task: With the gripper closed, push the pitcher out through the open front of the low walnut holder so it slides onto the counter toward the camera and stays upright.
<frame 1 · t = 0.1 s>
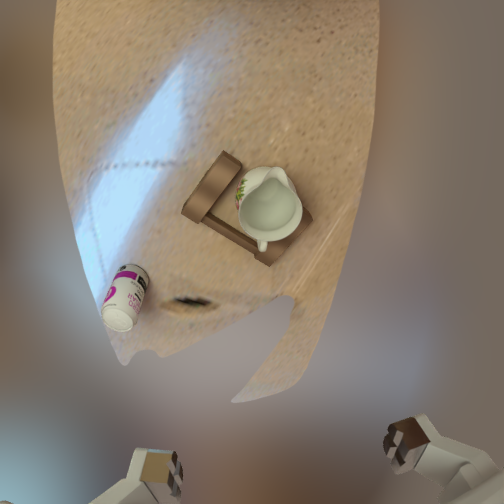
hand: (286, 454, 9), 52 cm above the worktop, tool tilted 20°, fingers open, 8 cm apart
pitcher: (261, 189, 58), on the worktop
supplement can: (133, 276, 68), on the worktop
holder: (246, 208, 60), on the worktop
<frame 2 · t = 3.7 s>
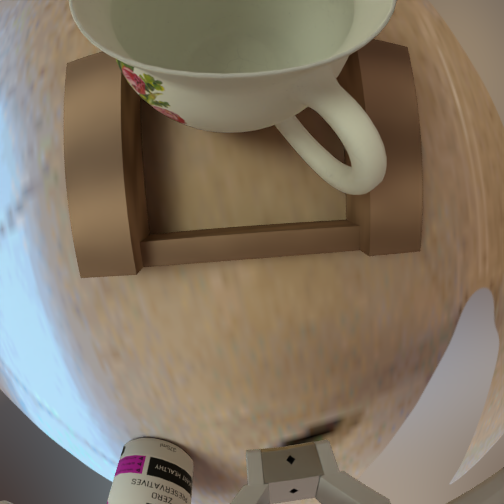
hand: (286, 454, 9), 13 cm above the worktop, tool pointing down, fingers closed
pitcher: (240, 81, 18), on the worktop
supplement can: (158, 453, 26), on the worktop
holder: (244, 149, 19), on the worktop
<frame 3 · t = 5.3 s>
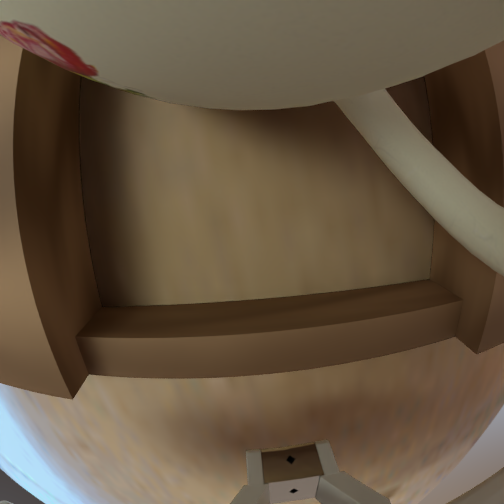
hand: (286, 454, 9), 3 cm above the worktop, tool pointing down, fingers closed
pitcher: (257, 32, 9), on the worktop
holder: (267, 155, 10), on the worktop
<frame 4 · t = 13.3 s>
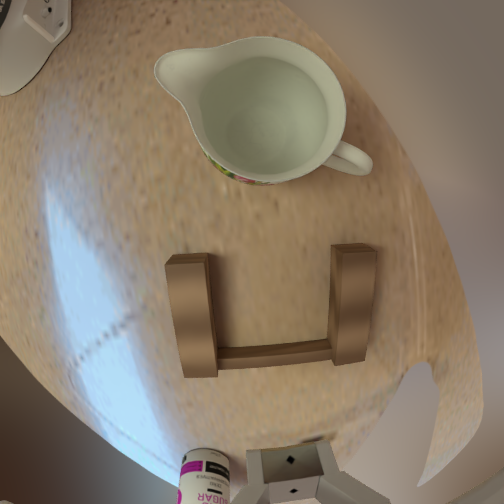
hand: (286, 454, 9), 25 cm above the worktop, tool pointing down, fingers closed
pitcher: (264, 137, 30), on the worktop
supplement can: (206, 458, 42), on the worktop
holder: (272, 307, 35), on the worktop
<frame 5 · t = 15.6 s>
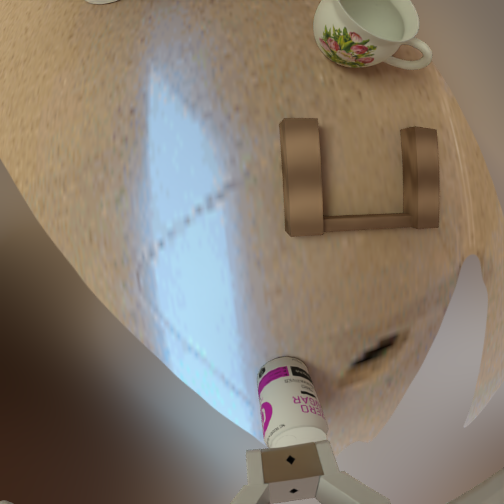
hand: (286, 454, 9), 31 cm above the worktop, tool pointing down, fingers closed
pitcher: (346, 48, 33), on the worktop
supplement can: (281, 374, 45), on the worktop
holder: (361, 177, 37), on the worktop
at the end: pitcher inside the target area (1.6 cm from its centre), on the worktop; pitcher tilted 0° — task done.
